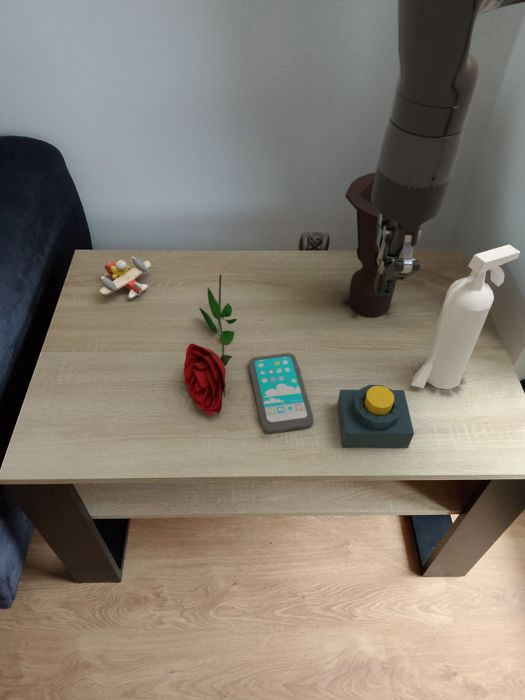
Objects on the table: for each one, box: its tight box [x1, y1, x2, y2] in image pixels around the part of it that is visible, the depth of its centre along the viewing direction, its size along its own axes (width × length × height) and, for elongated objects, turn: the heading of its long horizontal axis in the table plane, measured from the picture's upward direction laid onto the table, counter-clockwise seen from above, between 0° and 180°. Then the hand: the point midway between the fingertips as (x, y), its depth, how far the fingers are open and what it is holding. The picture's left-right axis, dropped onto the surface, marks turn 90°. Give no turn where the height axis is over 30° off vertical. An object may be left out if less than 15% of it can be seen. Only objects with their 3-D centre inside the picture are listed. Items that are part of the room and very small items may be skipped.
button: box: [364, 385, 394, 416], centre depth 75 cm, size 4×4×2 cm
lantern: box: [345, 172, 397, 319], centre depth 87 cm, size 15×15×30 cm
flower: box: [183, 273, 238, 417], centre depth 87 cm, size 9×9×30 cm
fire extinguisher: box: [411, 244, 521, 391], centre depth 77 cm, size 7×12×25 cm, turn 116°
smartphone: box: [248, 352, 314, 434], centre depth 83 cm, size 9×1×15 cm
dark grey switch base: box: [336, 384, 415, 449], centre depth 77 cm, size 10×8×6 cm
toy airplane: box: [99, 256, 151, 300], centre depth 98 cm, size 9×9×6 cm
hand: (382, 291), depth 65 cm, fingers closed
